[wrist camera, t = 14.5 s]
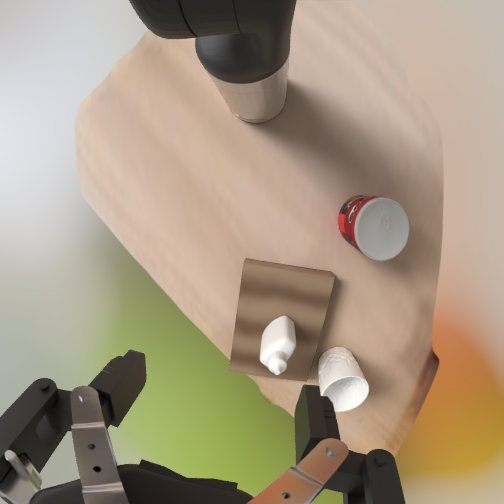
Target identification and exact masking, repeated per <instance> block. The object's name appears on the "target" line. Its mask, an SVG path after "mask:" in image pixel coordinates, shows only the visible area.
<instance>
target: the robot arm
mask: <svg viewBox="0 0 504 504" xmlns="http://www.w3.org/2000/svg"><path fill="white" fill-rule="evenodd" d="M129 1H130V3H131V5H132V6H133V8H134V10H135V11H136V13H137V15H138V16H139V18H140V19H141V20H142V22H143V23H144V24H145V25H146V26H147V28H148V29H149V30H151V31H152V32H153V33H154V34H156V35H157V36H159V37H162V38H166V39H187V38H196V40H195V48H196V53H197V56H198V58H199V60H200V61H201V63H202V65H203V66H204V68H205V69H206V71H207V72H208V74H209V76H210V77H211V79H212V80H213V82H214V83H215V85H216V87H217V88H218V90H219V91H220V93H221V95H222V96H223V98H224V99H225V101H226V103H227V104H228V106H229V108H230V109H231V111H232V112H233V113H234V114H235V116H237V117H238V118H240V119H241V120H244V121H246V122H251V123H261V122H266V121H268V120H271V119H272V118H274V117H276V116H277V115H278V114H279V113H280V112H281V110H282V109H283V107H284V104H285V99H286V91H287V80H288V68H289V54H290V34H291V26H292V20H293V15H294V10H295V5H296V1H297V0H129ZM145 382H146V363H145V354H144V353H141V352H137V351H134V350H129V351H128V352H127V353H126V355H125V356H124V357H122V356H118V357H116V358H114V359H112V360H111V361H110V362H109V363H108V364H107V366H105V367H104V369H103V370H102V371H101V372H100V373H99V374H98V375H97V376H96V377H95V379H94V380H93V381H92V382H91V383H90V384H89V385H88V386H79V387H76V388H74V389H73V390H72V391H66V390H61V389H57V387H56V384H55V382H54V381H53V380H51V379H48V378H41V379H38V380H36V381H34V382H33V383H32V384H31V385H30V386H29V387H28V388H27V389H26V390H25V391H24V393H23V394H22V395H21V396H20V397H19V398H18V399H17V400H16V401H15V402H14V403H13V404H12V405H11V406H10V407H9V408H8V409H7V410H6V412H5V413H4V414H3V415H2V416H1V417H0V497H1V498H2V499H3V500H4V501H5V502H7V503H8V504H311V503H312V502H313V501H314V500H315V499H316V498H317V496H318V495H319V494H320V493H321V492H322V491H323V490H324V489H330V490H333V491H338V492H342V493H343V503H344V504H405V500H404V495H403V491H402V487H401V482H400V478H399V474H398V470H397V466H396V463H395V459H394V457H393V455H392V454H391V453H390V452H388V451H386V450H383V449H375V450H372V451H370V452H369V453H368V454H367V455H366V454H361V453H356V452H353V451H350V450H349V449H348V447H347V445H346V444H345V443H344V442H342V441H341V439H340V434H339V429H338V424H337V419H336V415H335V412H334V411H335V410H334V405H333V403H332V401H331V400H330V399H329V397H328V396H321V394H320V388H319V386H315V385H303V387H302V390H301V393H300V396H299V399H298V402H297V405H296V409H295V442H296V467H294V468H293V467H291V468H289V469H288V470H287V471H286V472H285V473H284V474H282V475H281V476H280V477H279V478H278V479H277V480H275V481H274V482H273V483H272V484H271V485H269V486H268V487H267V488H266V489H264V490H263V491H262V492H261V493H260V494H258V495H257V496H256V497H253V496H251V495H250V494H248V493H246V492H244V491H242V490H239V489H237V484H238V483H235V482H229V481H223V480H218V479H204V478H186V477H184V476H182V475H180V474H178V473H176V472H174V471H172V470H170V469H168V468H166V467H164V466H161V465H158V464H155V463H151V462H148V461H145V460H141V462H140V464H139V465H138V464H124V465H119V466H118V463H117V461H116V457H115V454H114V451H113V448H112V444H111V441H110V437H109V433H108V430H107V429H108V427H109V426H110V425H113V426H115V427H118V426H119V425H120V423H121V422H122V420H123V418H124V417H125V415H126V414H127V412H128V411H129V409H130V407H131V406H132V404H133V403H134V401H135V400H136V398H137V397H138V395H139V394H140V392H141V391H142V389H143V387H144V386H145ZM67 431H72V437H73V444H74V450H75V456H76V461H77V465H78V471H79V475H80V479H77V480H75V481H71V482H68V483H65V484H61V485H57V486H54V487H49V488H45V489H42V490H41V488H40V486H41V483H42V479H41V476H40V474H39V473H40V472H41V470H42V469H43V467H44V466H45V464H46V463H47V461H48V460H49V458H50V457H51V455H52V453H53V452H54V451H55V449H56V448H57V446H58V445H59V443H60V442H61V440H62V439H63V437H64V436H65V434H66V433H67Z"/></svg>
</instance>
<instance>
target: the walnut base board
mask: <svg viewBox="0 0 504 504" xmlns="http://www.w3.org/2000/svg"><path fill="white" fill-rule="evenodd" d="M334 279H335V277H334V275H333V273H332V272H330V271H323V270H317V269H310V268H304V267H297V266H291V265H285V264H278V263H272V262H266V261H259V260H253V259H247V258H246V259H245V261H244V264H243V272H242V279H241V286H240V293H239V301H238V308H237V315H236V323H235V330H234V337H233V345H232V352H231V360H230V367H229V371H234V372H240V373H246V374H252V375H258V376H265V377H272V378H280V379H288V380H297V381H307V379H308V376H309V372H310V369H311V366H312V363H313V359H314V356H315V353H316V349H317V346H318V342H319V339H320V335H321V331H322V328H323V324H324V320H325V316H326V312H327V309H328V305H329V300H330V296H331V292H332V288H333V284H334ZM281 316H287V317H289V318H290V319H291V320H292V321H293V322H294V326H295V336H296V347H295V350H294V352H293V354H292V355H291V356H290V358H289V359H288V360H287V368H286V370H285V371H284V372H282V373H280V374H279V375H276V374H275V373H273V372H271V371H270V370H269V368H268V367H267V366H265V365H264V364H263V363H262V362H261V361H260V350H261V341H262V335H263V332H264V330H265V329H266V327H267V326H268V325H269V324H270V323H271V322H272V321H274V320H275V319H277V318H279V317H281Z"/></svg>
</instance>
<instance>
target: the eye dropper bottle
mask: <svg viewBox="0 0 504 504" xmlns="http://www.w3.org/2000/svg"><path fill="white" fill-rule="evenodd" d="M295 347H296V336H295V326H294V322H293V321H292V320H291V319H290V318H289V317H287V316H281V317H279V318H277V319H275V320H274V321H272V322H271V323H270V324H269V325H268V326H267V327H266V329H265V330H264V332H263V335H262V341H261V350H260V361H261V362H262V363H263V364H264V365H265V366H267V367H268V368H269V370H270V371H271V372H273V373H275V374H276V375H279V374H280V373H282V372H284V371H285V370H286V368H287V360H288V359H289V358H290V356H291V355H292V354H293V352H294V350H295Z"/></svg>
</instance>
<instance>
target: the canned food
mask: <svg viewBox="0 0 504 504" xmlns="http://www.w3.org/2000/svg"><path fill="white" fill-rule="evenodd" d="M338 224H339V229H340V232H341V234H342V236H343V237H344V238H345V240H346V241H348V242H349V243H350V244H351V245H353V246H354V247H355V248H356V249H358V250H359V251H360V252H362V253H363V254H364V255H366V256H367V257H369V258H371V259H373V260H377V261H387V260H390V259H392V258H394V257H396V256H397V255H398V254H399V253H400V252H401V251H402V250H403V249H404V247H405V246H406V244H407V241H408V238H409V234H410V223H409V218H408V215H407V213H406V211H405V210H404V208H403V207H402V206H401V205H400V204H399V203H398V202H396V201H395V200H393V199H390V198H386V197H377V196H362V195H359V196H355V197H352V198H350V199H349V200H348V201H347V202H346V203H345V204H344V205H343V206H342V208H341V210H340V213H339V218H338Z"/></svg>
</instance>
